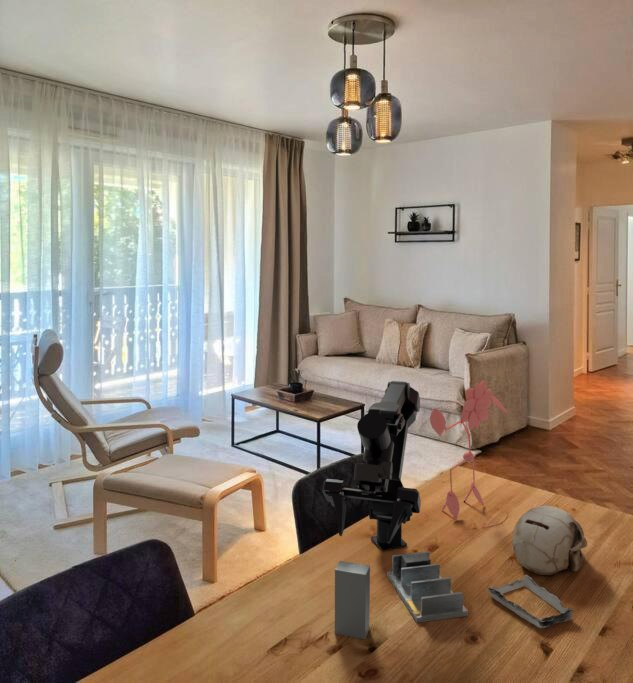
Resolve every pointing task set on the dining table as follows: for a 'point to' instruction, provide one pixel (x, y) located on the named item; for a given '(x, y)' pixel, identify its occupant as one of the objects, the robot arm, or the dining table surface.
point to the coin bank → (548, 541)
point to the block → (352, 599)
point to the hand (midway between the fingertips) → (364, 538)
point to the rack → (425, 588)
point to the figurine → (474, 413)
